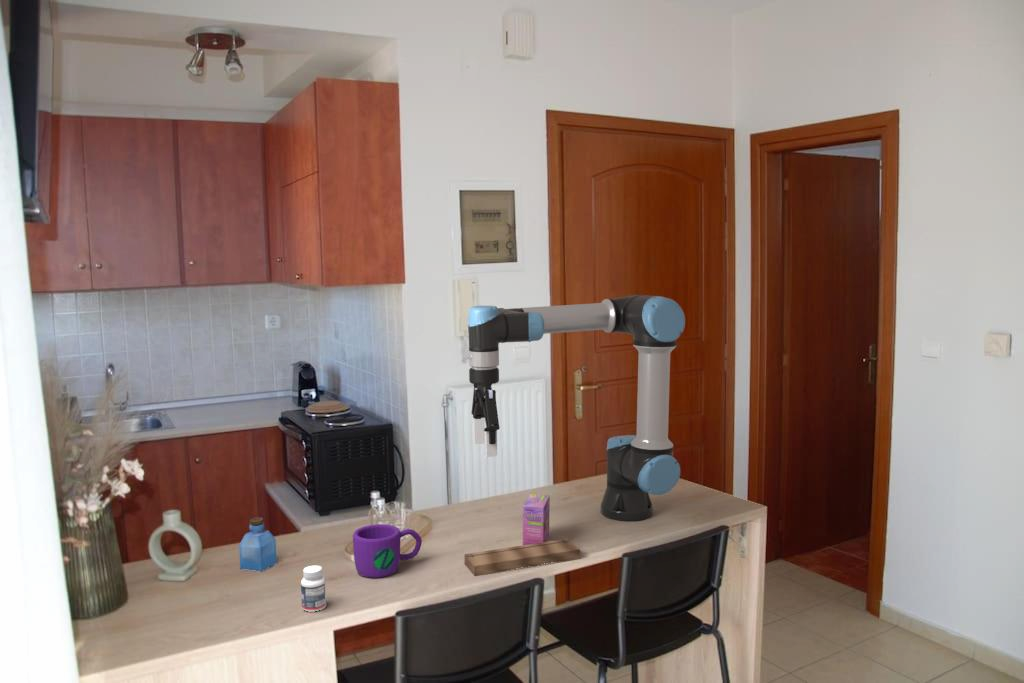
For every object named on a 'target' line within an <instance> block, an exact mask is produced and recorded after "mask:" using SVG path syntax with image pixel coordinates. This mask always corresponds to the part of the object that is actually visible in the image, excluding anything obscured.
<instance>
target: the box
mask: <svg viewBox="0 0 1024 683" xmlns="http://www.w3.org/2000/svg"><path fill="white" fill-rule="evenodd" d="M550 496H551V495H548V494H535V493H534V494H531V493H530V494H528V496H527V498H526V500H525V502H524V504H523V505H522V545H529V544H535V543H542V542H548V541H549V539H550V509H551V507H550V506H551V505H550V502H551V500H550V499H551V497H550Z"/></svg>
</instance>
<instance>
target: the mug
mask: <svg viewBox="0 0 1024 683" xmlns="http://www.w3.org/2000/svg"><path fill="white" fill-rule="evenodd" d="M408 535H410V536H412V537H413V538H414V539H415V541H416V543H415V545H414V548H413V550H412V552H410V553H406V554H405V553H404V554H402V553H401V538H403V537H405V536H408ZM422 541H423V540H422V537H421V536H420V535H419V533H418V532H417V531H415V530H414V529H411V528H405V529H403V530H400V529H399V528H398V527H397V526H395V525H391V524H385V523H384V524H380V523H378V524H377V523H376V524H369V525H366V526H365V525H364V526H362V527H359V528H357V529H356V530H355V531H354V532H353V534H352V546H353V547H352V548H353V560H354V565H355V569H356V571H357V573H358V574H359V575H360V576H363V577H365V578H372V579H375V578H376V579H377V578H385V577H388V576H390V575H393V574H394V573H395V572H397V570H398V569H399V567H400V560H401V561H407V560H410V559H413V558H414V557H416V556H418V554H419V552H420V550H421V547H422Z"/></svg>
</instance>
